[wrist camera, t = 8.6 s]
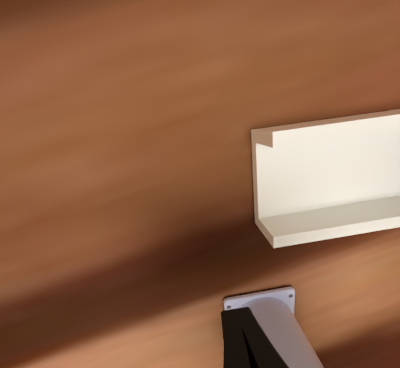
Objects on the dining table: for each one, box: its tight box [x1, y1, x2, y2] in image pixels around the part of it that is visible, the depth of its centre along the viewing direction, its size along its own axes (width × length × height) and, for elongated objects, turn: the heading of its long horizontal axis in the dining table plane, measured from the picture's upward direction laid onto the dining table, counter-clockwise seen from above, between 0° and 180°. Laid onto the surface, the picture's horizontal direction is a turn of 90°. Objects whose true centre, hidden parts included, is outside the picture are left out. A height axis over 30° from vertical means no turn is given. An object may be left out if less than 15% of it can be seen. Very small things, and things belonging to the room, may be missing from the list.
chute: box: [251, 109, 400, 248], centre depth 16 cm, size 22×9×4 cm, turn 97°
